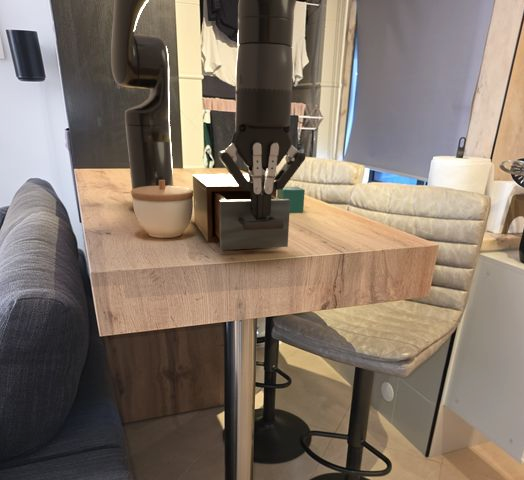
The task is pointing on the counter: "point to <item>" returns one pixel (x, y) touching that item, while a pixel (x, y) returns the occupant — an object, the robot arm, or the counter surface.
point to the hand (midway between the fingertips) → (260, 218)
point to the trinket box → (163, 209)
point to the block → (293, 197)
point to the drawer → (248, 222)
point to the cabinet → (210, 199)
